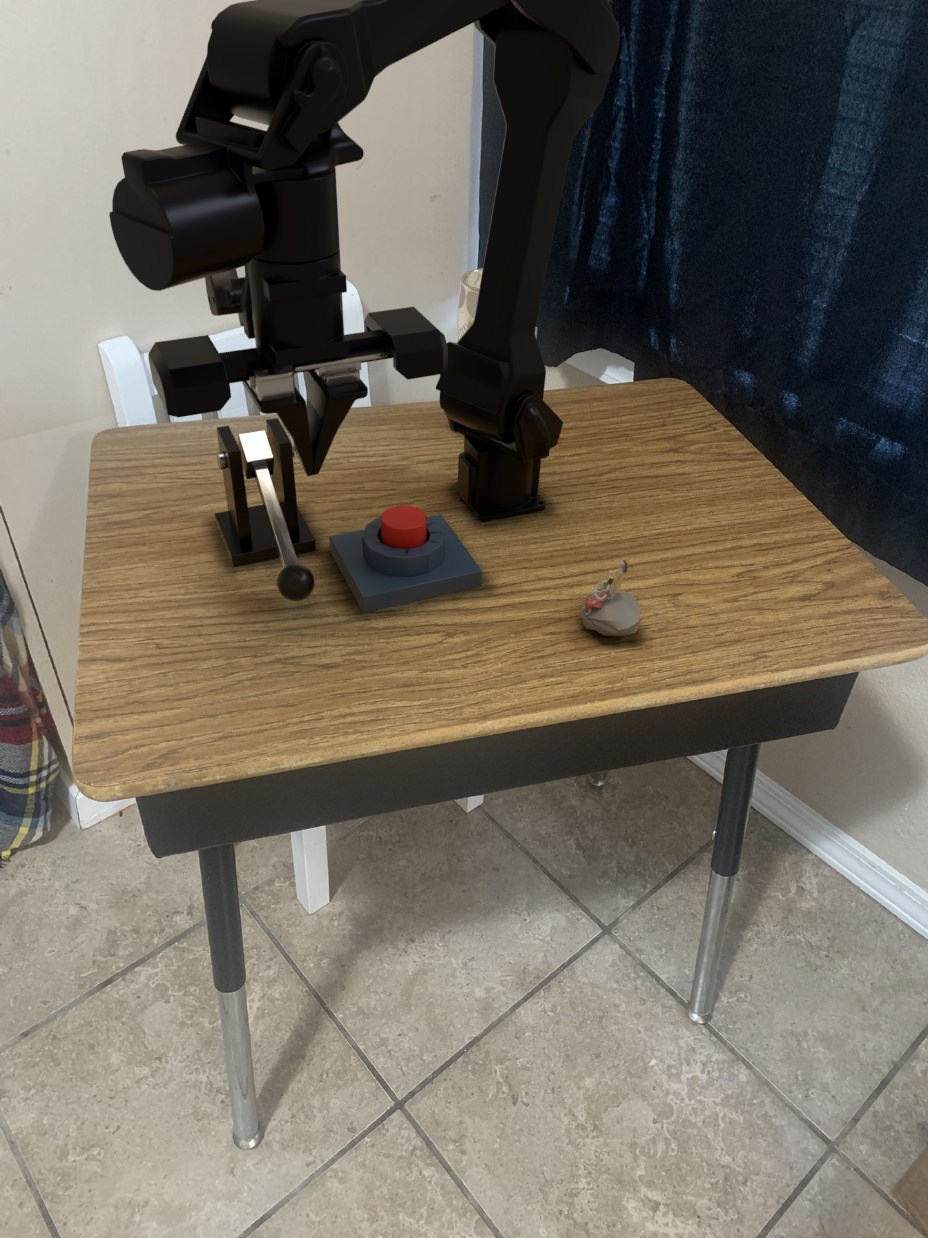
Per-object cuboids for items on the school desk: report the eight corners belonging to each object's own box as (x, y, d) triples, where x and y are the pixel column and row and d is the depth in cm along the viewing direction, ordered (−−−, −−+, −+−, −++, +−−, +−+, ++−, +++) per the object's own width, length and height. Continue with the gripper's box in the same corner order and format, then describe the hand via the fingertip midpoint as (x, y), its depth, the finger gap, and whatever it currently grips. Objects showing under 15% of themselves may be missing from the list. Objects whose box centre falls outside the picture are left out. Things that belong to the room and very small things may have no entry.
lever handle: (317, 603, 75) (320, 586, 73) (281, 611, 74) (283, 593, 72) (268, 448, 81) (269, 427, 78) (234, 453, 80) (234, 432, 77)
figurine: (647, 643, 74) (659, 579, 70) (593, 653, 73) (602, 588, 69) (619, 602, 78) (629, 539, 74) (567, 611, 77) (574, 547, 73)
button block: (440, 530, 85) (441, 495, 83) (481, 587, 79) (483, 551, 77) (329, 552, 82) (327, 517, 80) (363, 614, 76) (361, 577, 73)
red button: (417, 522, 80) (417, 501, 79) (433, 545, 78) (433, 524, 76) (375, 531, 79) (374, 509, 78) (390, 554, 77) (389, 532, 75)
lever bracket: (316, 551, 82) (308, 447, 76) (233, 568, 80) (218, 462, 74) (294, 510, 87) (285, 409, 81) (215, 524, 85) (200, 421, 79)
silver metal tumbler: (515, 443, 98) (526, 295, 89) (448, 435, 99) (451, 287, 90) (526, 413, 103) (537, 270, 94) (462, 405, 104) (466, 263, 95)
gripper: (389, 198, 69) (393, 403, 78) (114, 225, 62) (155, 444, 72) (452, 247, 61) (448, 468, 70) (145, 283, 54) (187, 521, 64)
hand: (310, 472), depth 69 cm, fingers closed
